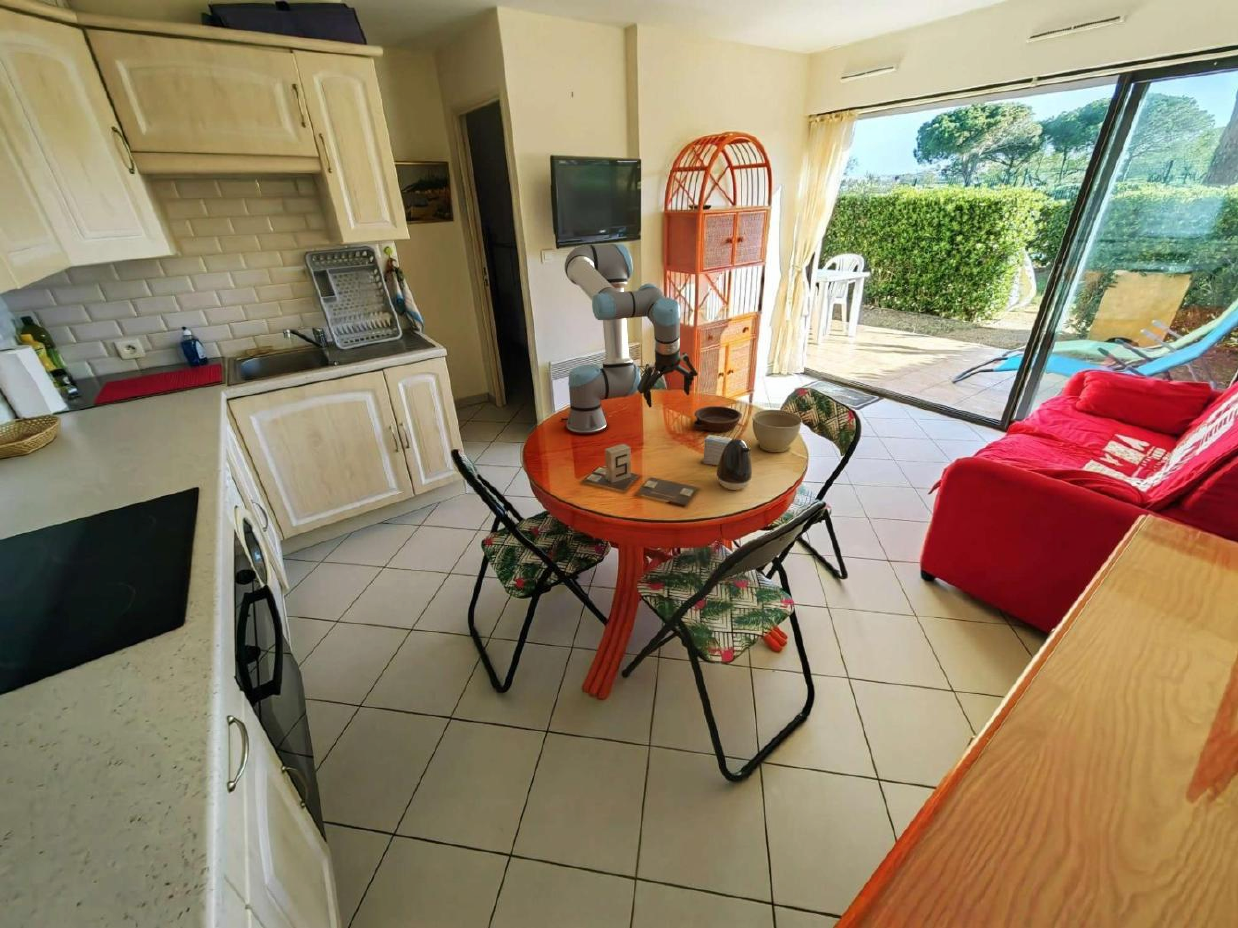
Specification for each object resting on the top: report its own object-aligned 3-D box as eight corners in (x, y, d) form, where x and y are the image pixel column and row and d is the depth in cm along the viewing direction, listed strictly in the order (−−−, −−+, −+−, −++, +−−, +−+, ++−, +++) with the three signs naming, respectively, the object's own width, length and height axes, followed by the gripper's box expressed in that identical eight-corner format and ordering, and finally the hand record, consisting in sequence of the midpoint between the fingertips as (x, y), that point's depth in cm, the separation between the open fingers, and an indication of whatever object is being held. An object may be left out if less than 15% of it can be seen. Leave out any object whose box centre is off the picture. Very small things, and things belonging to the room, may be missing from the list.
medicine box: (730, 462, 167) (732, 437, 163) (726, 467, 163) (728, 443, 159) (706, 458, 170) (708, 434, 166) (702, 463, 166) (704, 439, 162)
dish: (754, 426, 194) (756, 414, 192) (711, 440, 183) (712, 427, 181) (722, 413, 207) (723, 401, 205) (680, 425, 196) (680, 413, 194)
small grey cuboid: (631, 477, 157) (631, 447, 153) (612, 483, 154) (611, 453, 149) (624, 472, 160) (624, 443, 155) (605, 478, 156) (604, 449, 152)
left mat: (582, 483, 156) (582, 480, 155) (599, 468, 164) (599, 465, 164) (623, 492, 150) (623, 489, 149) (639, 476, 159) (639, 473, 158)
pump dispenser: (730, 497, 146) (735, 449, 140) (708, 482, 155) (712, 436, 148) (758, 489, 151) (763, 442, 144) (735, 475, 159) (739, 430, 152)
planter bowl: (740, 441, 182) (743, 412, 177) (779, 435, 186) (783, 407, 181) (765, 460, 168) (769, 429, 163) (807, 453, 172) (812, 423, 167)
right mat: (636, 495, 148) (636, 492, 148) (650, 479, 157) (650, 476, 157) (684, 507, 142) (685, 503, 142) (697, 489, 151) (697, 486, 151)
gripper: (633, 367, 149) (637, 417, 166) (710, 343, 153) (706, 394, 170) (624, 352, 154) (629, 402, 171) (699, 329, 158) (697, 380, 174)
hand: (667, 398), depth 170 cm, fingers open, 13 cm apart
